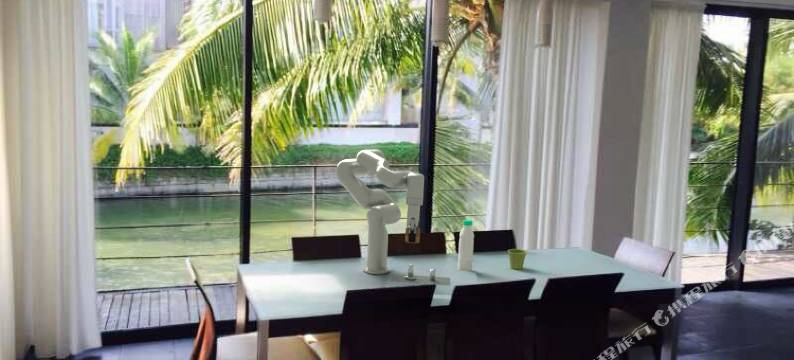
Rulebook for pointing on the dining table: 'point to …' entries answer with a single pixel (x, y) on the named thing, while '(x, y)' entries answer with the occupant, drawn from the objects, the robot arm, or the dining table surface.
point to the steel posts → (412, 277)
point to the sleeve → (416, 235)
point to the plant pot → (517, 258)
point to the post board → (422, 279)
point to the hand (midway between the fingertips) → (412, 240)
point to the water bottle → (466, 247)
